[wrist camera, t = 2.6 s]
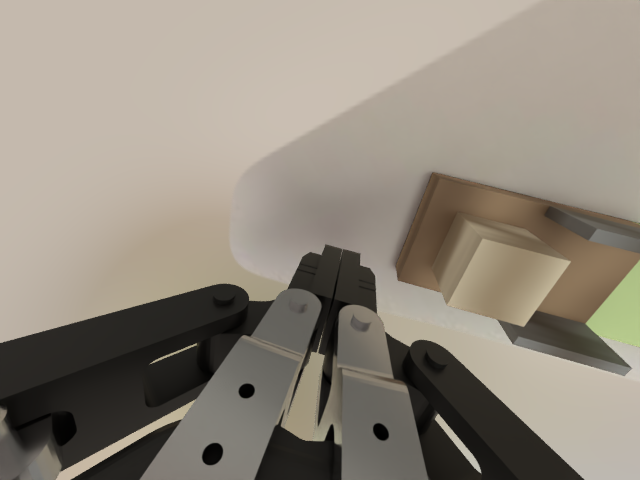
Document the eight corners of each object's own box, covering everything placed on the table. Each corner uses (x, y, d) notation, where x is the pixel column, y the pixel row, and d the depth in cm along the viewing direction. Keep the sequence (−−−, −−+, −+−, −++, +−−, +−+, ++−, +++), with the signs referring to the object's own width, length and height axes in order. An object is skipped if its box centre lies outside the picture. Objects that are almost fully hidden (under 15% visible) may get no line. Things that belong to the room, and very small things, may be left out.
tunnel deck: (395, 266, 20) (403, 313, 15) (432, 172, 17) (457, 193, 12) (708, 351, 19) (827, 433, 14) (810, 265, 16) (1009, 332, 11)
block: (431, 267, 18) (446, 305, 14) (457, 211, 16) (482, 238, 12) (492, 284, 18) (523, 326, 14) (525, 229, 16) (571, 261, 12)
